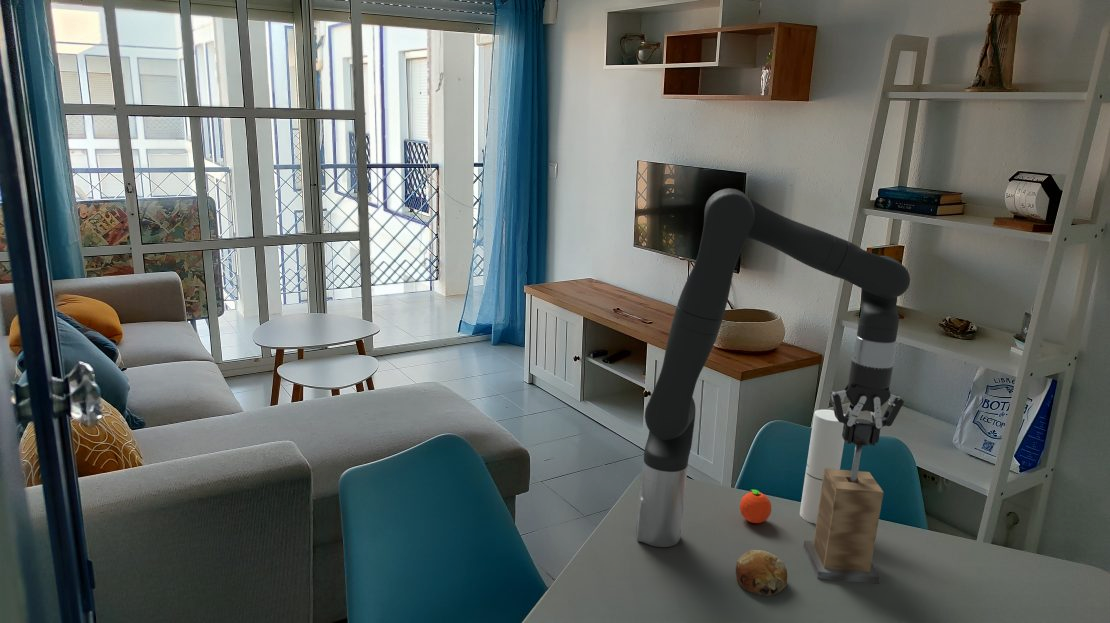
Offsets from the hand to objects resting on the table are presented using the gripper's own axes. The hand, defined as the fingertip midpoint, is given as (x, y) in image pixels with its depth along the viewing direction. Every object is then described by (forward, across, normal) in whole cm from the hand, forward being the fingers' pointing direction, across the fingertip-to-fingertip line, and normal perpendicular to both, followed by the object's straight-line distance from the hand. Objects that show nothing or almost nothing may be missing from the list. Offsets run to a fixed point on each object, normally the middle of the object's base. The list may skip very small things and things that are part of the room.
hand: (859, 442), depth 158 cm
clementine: (+27, -15, +16) cm, 35 cm away
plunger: (+20, 0, 0) cm, 20 cm away
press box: (+27, 0, 0) cm, 27 cm away
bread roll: (+27, -18, -9) cm, 34 cm away
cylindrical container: (+27, 0, +20) cm, 34 cm away
